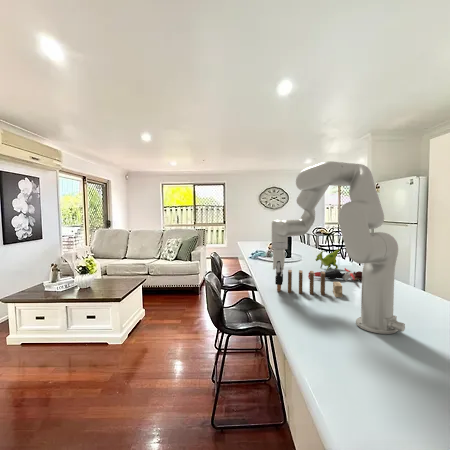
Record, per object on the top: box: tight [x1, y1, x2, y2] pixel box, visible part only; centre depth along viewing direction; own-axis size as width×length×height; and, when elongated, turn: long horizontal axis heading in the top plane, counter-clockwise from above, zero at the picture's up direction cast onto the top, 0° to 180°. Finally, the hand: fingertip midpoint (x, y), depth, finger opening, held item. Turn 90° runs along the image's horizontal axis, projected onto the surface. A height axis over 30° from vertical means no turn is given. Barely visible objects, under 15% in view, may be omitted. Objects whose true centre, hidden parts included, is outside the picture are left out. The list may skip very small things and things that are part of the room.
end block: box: [332, 281, 343, 298], centre depth 134 cm, size 3×8×5 cm, turn 166°
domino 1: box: [276, 269, 282, 292], centre depth 141 cm, size 2×5×10 cm, turn 166°
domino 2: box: [287, 269, 293, 294], centre depth 140 cm, size 2×5×10 cm, turn 166°
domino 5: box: [320, 271, 326, 296], centre depth 136 cm, size 2×5×10 cm, turn 166°
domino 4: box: [309, 270, 315, 296], centre depth 137 cm, size 2×5×10 cm, turn 166°
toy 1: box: [315, 248, 341, 271], centre depth 193 cm, size 8×21×15 cm, turn 115°
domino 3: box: [298, 270, 304, 295], centre depth 138 cm, size 2×5×10 cm, turn 166°
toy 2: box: [307, 267, 362, 282], centre depth 164 cm, size 28×6×30 cm
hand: (279, 282), depth 141 cm, fingers closed on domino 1, 4 cm apart
